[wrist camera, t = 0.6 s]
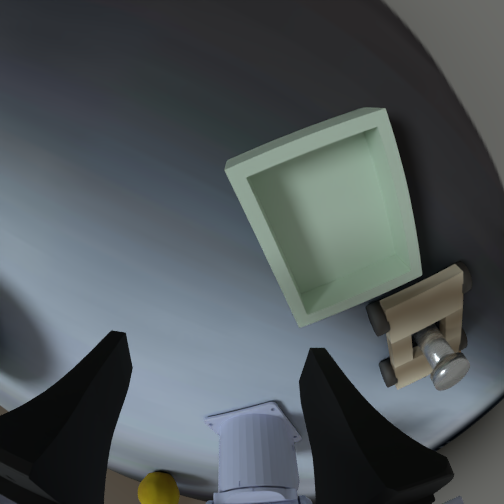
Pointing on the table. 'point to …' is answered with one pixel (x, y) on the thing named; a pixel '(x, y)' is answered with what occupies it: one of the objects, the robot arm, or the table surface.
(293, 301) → the tray
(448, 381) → the stop pin
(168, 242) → the table surface
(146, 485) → the apple
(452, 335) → the toy car
